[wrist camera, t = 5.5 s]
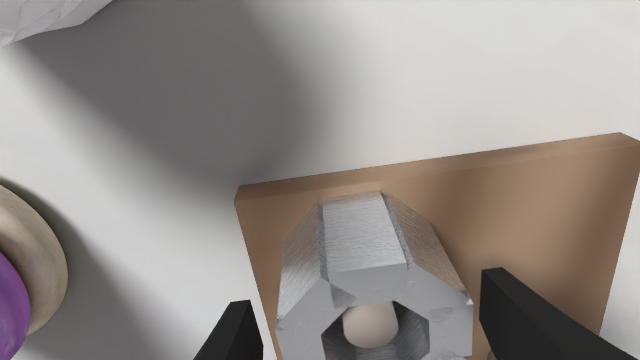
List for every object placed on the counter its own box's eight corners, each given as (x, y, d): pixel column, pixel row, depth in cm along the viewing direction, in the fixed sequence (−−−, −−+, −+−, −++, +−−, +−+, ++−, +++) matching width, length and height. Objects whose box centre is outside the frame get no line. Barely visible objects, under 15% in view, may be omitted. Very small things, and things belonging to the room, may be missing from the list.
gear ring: (428, 182, 13) (475, 252, 9) (432, 300, 15) (470, 393, 12) (273, 205, 13) (261, 282, 10) (300, 318, 16) (298, 414, 12)
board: (620, 132, 14) (758, 192, 10) (571, 359, 19) (647, 464, 15) (239, 185, 14) (210, 265, 10) (293, 393, 19) (290, 503, 15)
